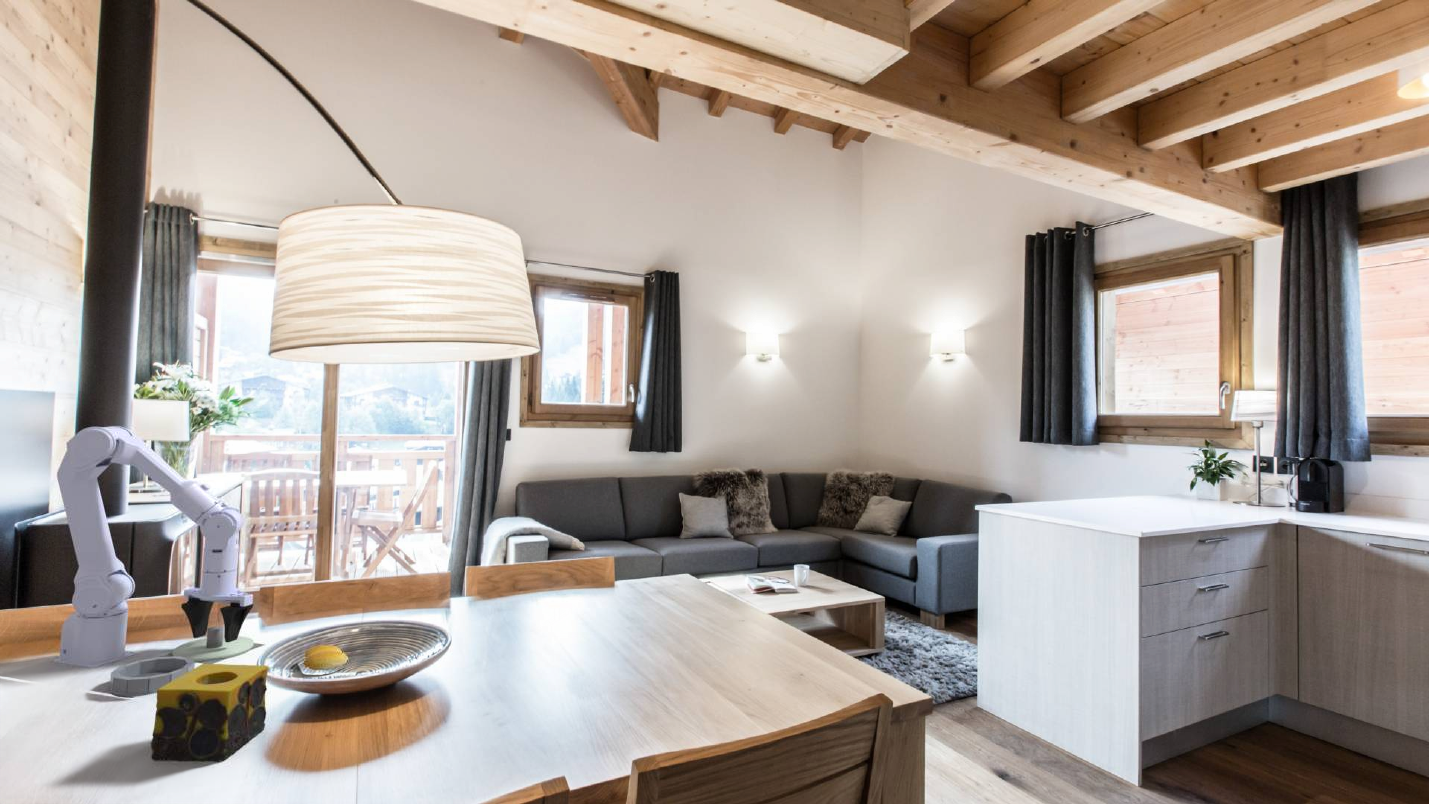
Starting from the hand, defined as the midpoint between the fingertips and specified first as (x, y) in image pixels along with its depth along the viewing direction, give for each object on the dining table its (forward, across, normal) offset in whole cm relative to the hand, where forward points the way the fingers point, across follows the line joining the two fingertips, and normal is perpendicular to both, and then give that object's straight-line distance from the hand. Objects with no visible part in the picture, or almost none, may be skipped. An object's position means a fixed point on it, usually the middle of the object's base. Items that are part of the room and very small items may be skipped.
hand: (215, 638), depth 135 cm
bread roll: (+3, -25, 0) cm, 25 cm away
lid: (+2, 0, 0) cm, 2 cm away
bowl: (+3, -5, +16) cm, 17 cm away
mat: (+3, 0, 0) cm, 3 cm away
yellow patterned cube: (+3, -33, +30) cm, 45 cm away
